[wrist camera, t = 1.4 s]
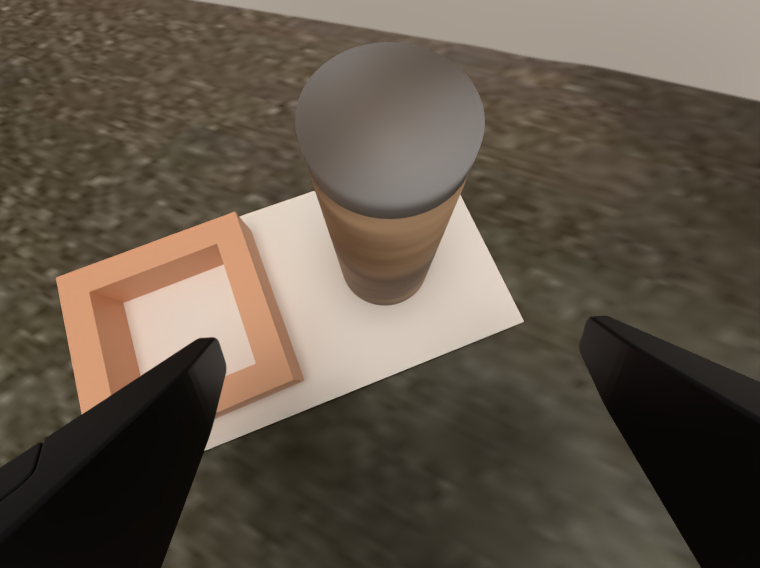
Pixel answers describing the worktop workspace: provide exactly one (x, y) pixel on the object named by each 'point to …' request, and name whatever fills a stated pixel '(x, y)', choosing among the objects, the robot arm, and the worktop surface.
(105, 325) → the socket
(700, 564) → the robot arm
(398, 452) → the worktop surface
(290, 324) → the mount board
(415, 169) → the gray-capped wooden tube
